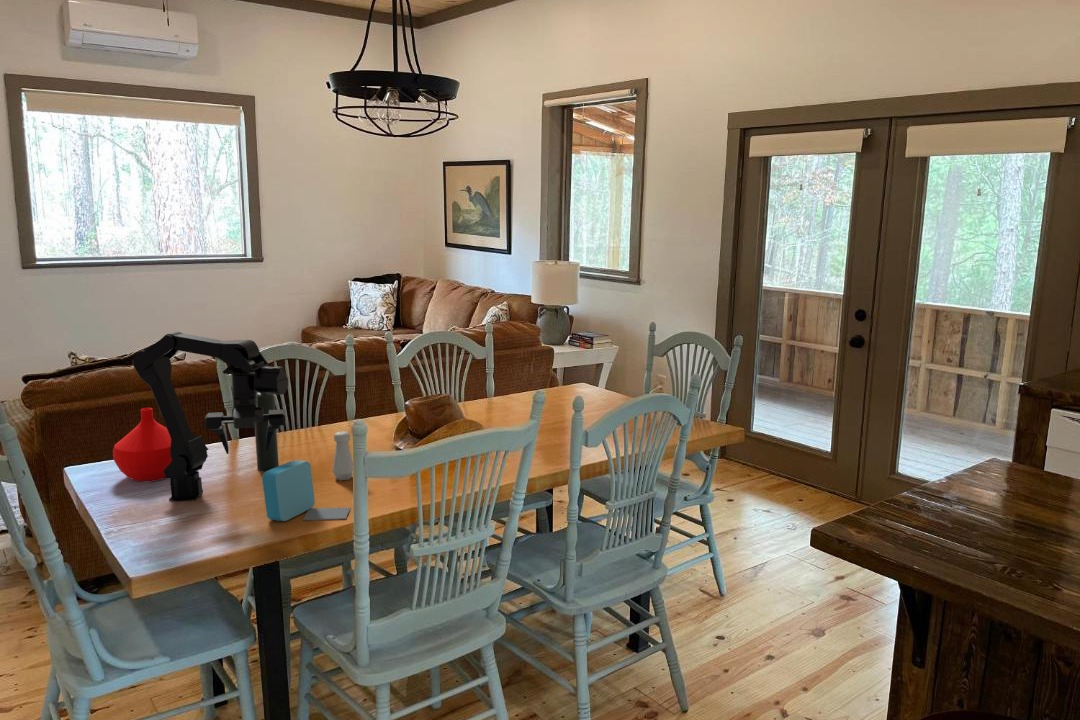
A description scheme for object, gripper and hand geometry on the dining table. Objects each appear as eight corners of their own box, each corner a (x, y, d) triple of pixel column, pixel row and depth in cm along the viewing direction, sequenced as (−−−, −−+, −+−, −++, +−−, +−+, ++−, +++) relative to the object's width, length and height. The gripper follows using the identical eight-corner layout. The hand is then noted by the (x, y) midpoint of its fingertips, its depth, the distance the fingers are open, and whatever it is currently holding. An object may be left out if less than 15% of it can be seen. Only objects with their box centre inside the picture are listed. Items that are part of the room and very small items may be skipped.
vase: (119, 492, 211) (112, 421, 208) (112, 472, 226) (105, 406, 223) (194, 479, 221) (188, 411, 217) (182, 461, 236) (177, 398, 233)
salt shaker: (349, 482, 219) (346, 436, 216) (329, 480, 220) (327, 434, 218) (358, 475, 225) (356, 430, 222) (338, 474, 226) (336, 429, 223)
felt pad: (303, 520, 193) (303, 519, 193) (309, 509, 199) (309, 508, 199) (345, 519, 193) (345, 518, 193) (350, 508, 200) (350, 507, 200)
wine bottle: (254, 467, 231) (247, 364, 225) (274, 463, 235) (268, 362, 229) (261, 472, 227) (254, 367, 221) (281, 468, 230) (275, 365, 224)
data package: (301, 504, 203) (296, 458, 201) (316, 506, 201) (310, 459, 199) (267, 521, 192) (260, 473, 190) (281, 523, 190) (275, 474, 188)
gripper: (200, 401, 189) (204, 465, 192) (284, 397, 195) (286, 459, 198) (205, 390, 200) (208, 450, 203) (284, 387, 205) (286, 446, 208)
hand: (247, 452), depth 203 cm, fingers open, 9 cm apart
